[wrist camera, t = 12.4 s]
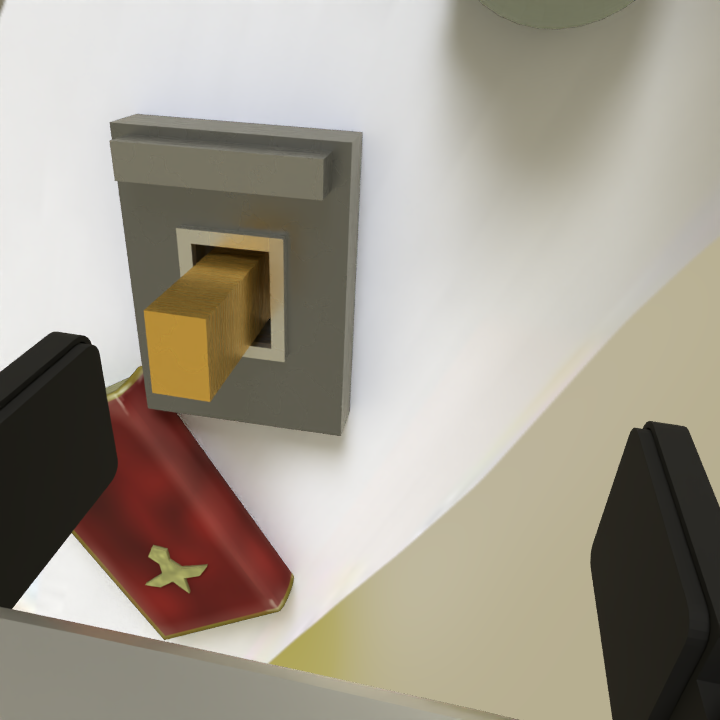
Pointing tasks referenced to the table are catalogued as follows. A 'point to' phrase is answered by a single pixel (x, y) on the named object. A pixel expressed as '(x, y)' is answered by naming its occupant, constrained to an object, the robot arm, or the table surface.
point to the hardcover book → (177, 527)
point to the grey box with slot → (252, 232)
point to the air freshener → (555, 11)
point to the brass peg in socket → (207, 322)
